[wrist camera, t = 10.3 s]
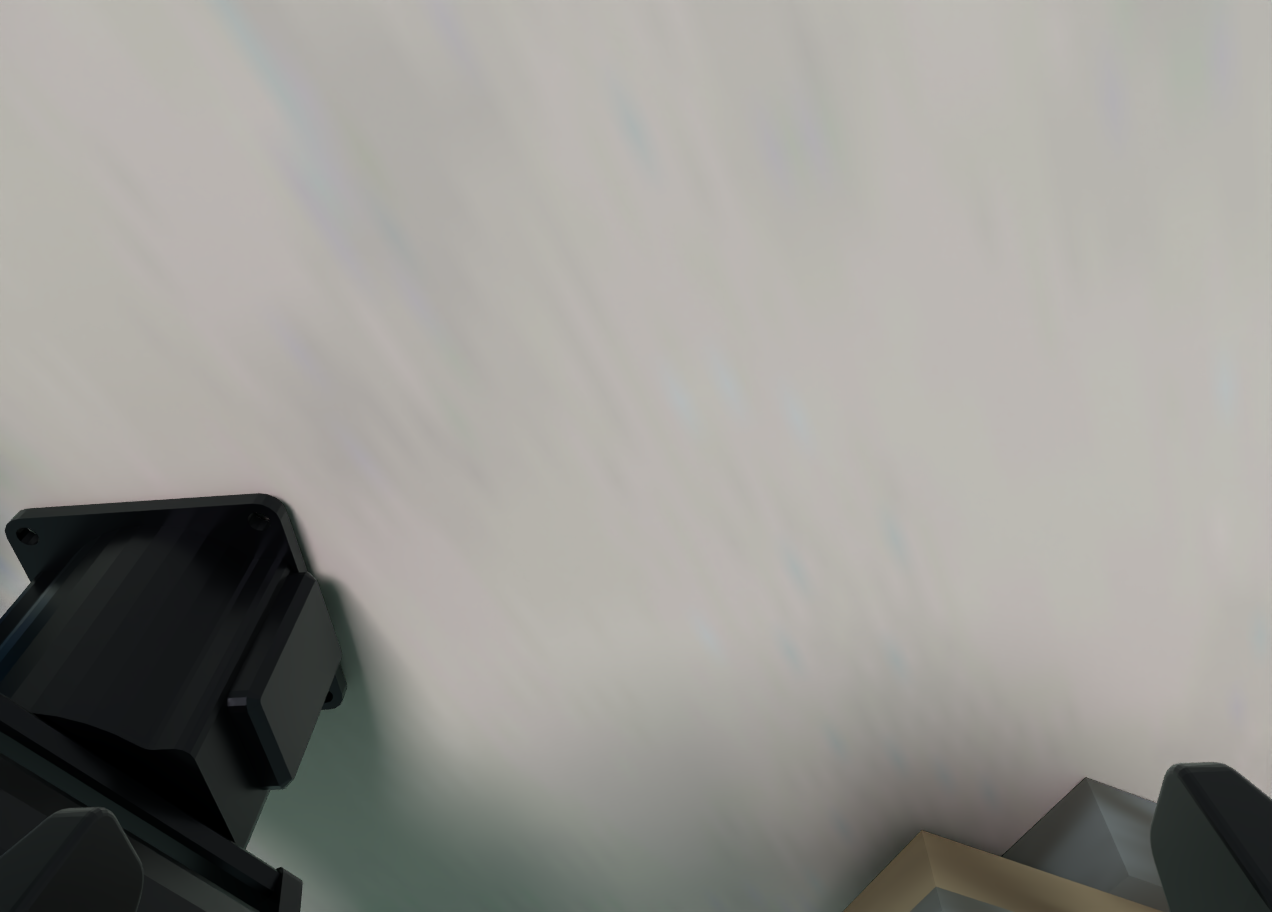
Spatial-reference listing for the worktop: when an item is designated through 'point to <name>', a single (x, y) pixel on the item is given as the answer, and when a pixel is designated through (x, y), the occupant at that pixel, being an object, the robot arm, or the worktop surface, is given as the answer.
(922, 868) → the grey open tray
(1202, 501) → the worktop surface
